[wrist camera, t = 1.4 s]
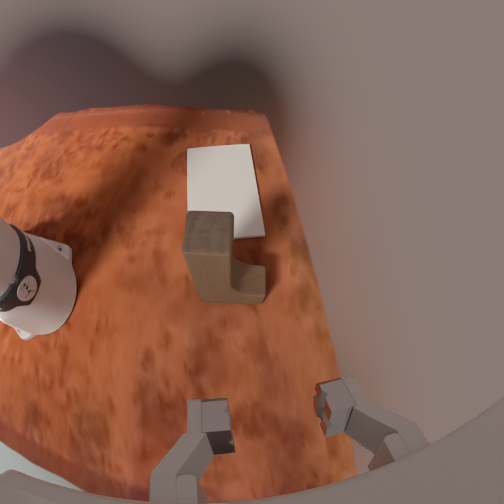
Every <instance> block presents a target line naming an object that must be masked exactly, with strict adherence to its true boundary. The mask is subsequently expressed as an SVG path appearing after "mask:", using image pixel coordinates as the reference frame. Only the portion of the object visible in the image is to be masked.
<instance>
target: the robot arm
mask: <svg viewBox="0 0 504 504" xmlns="http://www.w3.org/2000/svg"><path fill="white" fill-rule="evenodd" d="M61 249H62V250H61ZM60 250H61V252H60ZM76 291H77V284H76V277H75V273H74V270H73V267H72V249H71V247H69V246H68V245H66V244H62V243H59V242H55V241H52V240H48V239H45V238H42V237H38V236H35V235H32V234H28V233H25V232H23V231H21V230H20V229H19V228H17V227H15V226H13V225H11V224H8V223H7V222H6V221H5V220H4V219H2V218H1V217H0V320H1V321H2V322H3V323H5V324H7V325H10V326H12V327H14V329H15V330H16V332H17V333H18V335H19V336H20V337H21V338H22V339H24V340H26V341H27V340H30V339H31V338H33V337H34V336H36V335H42V334H49V333H52V332H54V331H56V330H57V329H59V328H60V327H61V326H62V325H63V324H64V323H65V321H66V320H67V319H68V317H69V315H70V313H71V311H72V309H73V306H74V303H75V299H76ZM315 390H316V393H317V394H316V395H315V396H314V401H313V402H314V409H315V413H316V415H317V417H319V418H320V419H321V423H320V426H321V428H322V431H323V433H324V436H325V437H326V436H331V435H335V434H339V433H342V432H345V434H347V435H348V436H349V437H351V438H352V439H354V440H355V441H356V442H358V443H359V444H361V445H362V446H363V447H365V448H366V449H368V450H369V451H371V452H372V453H374V454H375V455H374V457H373V458H372V460H371V461H370V463H369V465H368V468H369V470H370V471H369V472H366V473H363V474H360V475H357V476H354V477H351V478H348V479H345V480H342V481H338V482H335V483H332V484H328V485H324V486H321V487H317V488H313V489H309V490H304V491H300V492H295V493H290V494H285V495H279V496H274V497H267V498H260V499H253V500H244V501H234V502H220V503H208V497H207V495H206V494H205V492H204V490H203V489H202V487H201V485H200V483H199V481H200V479H201V477H202V476H203V474H204V472H205V471H206V469H207V467H208V466H209V464H210V462H211V461H212V459H213V457H214V455H220V454H229V453H235V446H234V439H233V433H232V423H231V416H230V410H229V405H228V400H227V398H215V399H197V400H188V403H187V434H183V435H182V436H181V437H180V439H179V440H178V441H177V442H176V444H175V445H174V446H173V447H172V448H171V450H170V451H169V452H168V453H167V455H166V456H165V457H164V458H163V459H162V461H161V462H160V463H159V464H158V465H157V467H156V468H155V469H154V470H153V471H152V472H151V482H150V502H146V501H136V500H128V499H120V498H114V497H108V496H102V495H97V494H92V493H87V492H83V491H78V490H74V489H70V488H66V487H62V486H59V485H56V484H52V483H49V482H46V481H43V480H40V479H37V478H34V477H31V476H28V475H26V474H23V473H21V472H18V471H15V470H8V471H6V472H4V473H2V474H0V504H504V396H503V397H502V398H501V399H500V400H498V401H497V402H496V403H495V404H493V405H492V406H490V407H489V408H488V409H486V410H485V411H484V412H482V413H481V414H479V415H478V416H476V417H475V418H473V419H472V420H470V421H469V422H467V423H465V424H464V425H462V426H461V427H459V428H457V429H456V430H454V431H453V432H451V433H449V434H447V435H446V436H444V437H442V438H440V439H439V440H437V441H435V442H433V443H431V444H429V443H428V441H427V439H426V438H425V436H424V435H423V433H422V432H421V430H420V428H419V427H418V425H417V424H416V423H415V422H413V421H411V420H409V419H407V418H404V417H402V416H400V415H398V414H396V413H394V412H392V411H390V410H388V409H386V408H384V407H382V406H380V405H378V404H376V403H374V402H372V401H371V402H368V400H367V398H366V396H365V395H364V393H363V391H362V390H361V388H360V386H359V384H358V383H357V381H356V379H355V378H354V376H352V375H350V376H346V377H342V378H337V379H333V380H329V381H324V382H320V383H317V384H316V387H315Z"/></svg>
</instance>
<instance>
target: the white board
mask: <svg viewBox="0 0 504 504" xmlns="http://www.w3.org/2000/svg"><path fill="white" fill-rule="evenodd" d="M187 196H188V211H218V212H232V213H233V215H234V239H243V238H254V237H265V230H264V224H263V218H262V213H261V207H260V201H259V195H258V190H257V184H256V178H255V173H254V167H253V161H252V156H251V150H250V145H249V144H240V145H224V146H211V147H200V148H189V149H187Z"/></svg>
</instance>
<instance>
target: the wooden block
mask: <svg viewBox="0 0 504 504" xmlns="http://www.w3.org/2000/svg"><path fill="white" fill-rule="evenodd" d="M233 251H234V215H233V213H232V212H218V211H188V213H187V216H186V223H185V230H184V238H183V245H182V253H183V255H184V258H185V261H186V263H187V266H188V268H189V271H190V273H191V276H192V278H193V281H194V283H195V286H196V288H197V291H198V293H199V296H200V298H201V301H203V302H218V303H240V304H262V303H263V301H264V299H265V296H266V267H265V266H261V265H252V264H245V263H243V262H241V261H238V260H236V258H235V257H234V255H233Z"/></svg>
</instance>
